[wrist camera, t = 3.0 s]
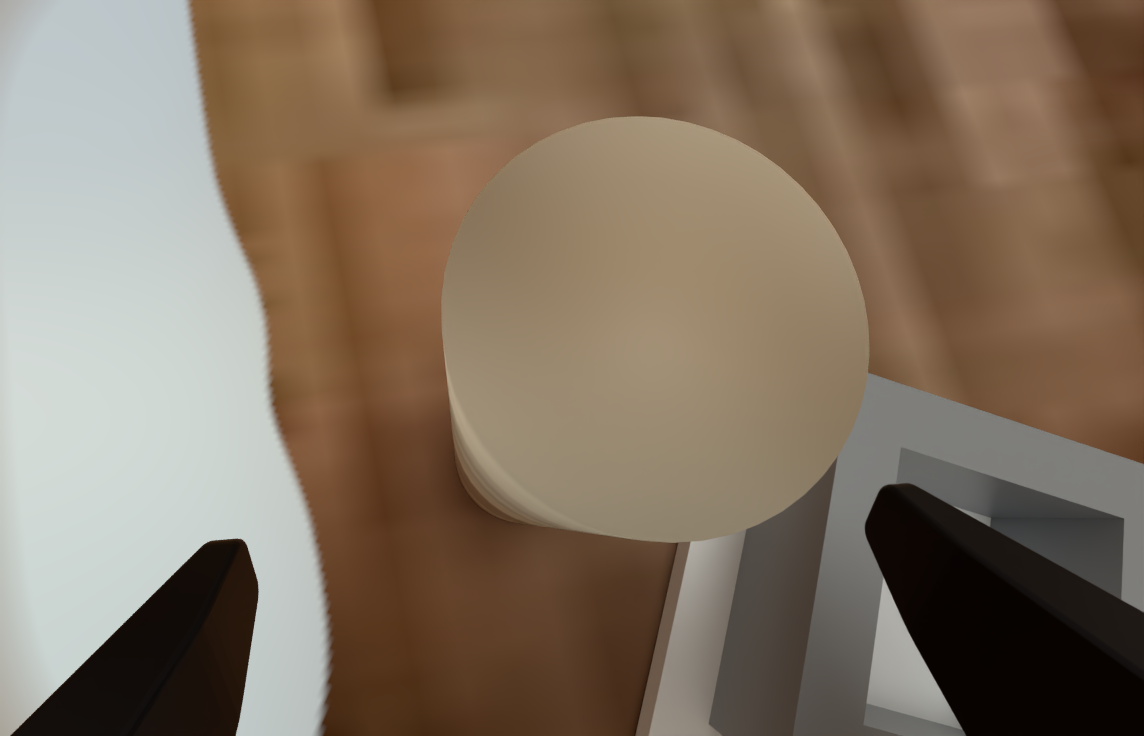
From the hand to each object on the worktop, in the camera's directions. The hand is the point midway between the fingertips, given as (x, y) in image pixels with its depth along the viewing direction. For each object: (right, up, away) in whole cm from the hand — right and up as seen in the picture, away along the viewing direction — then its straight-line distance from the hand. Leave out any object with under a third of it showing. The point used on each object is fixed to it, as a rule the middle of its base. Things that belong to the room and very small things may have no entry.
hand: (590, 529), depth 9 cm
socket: (+9, -4, +10) cm, 14 cm away
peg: (-2, 0, +9) cm, 9 cm away
